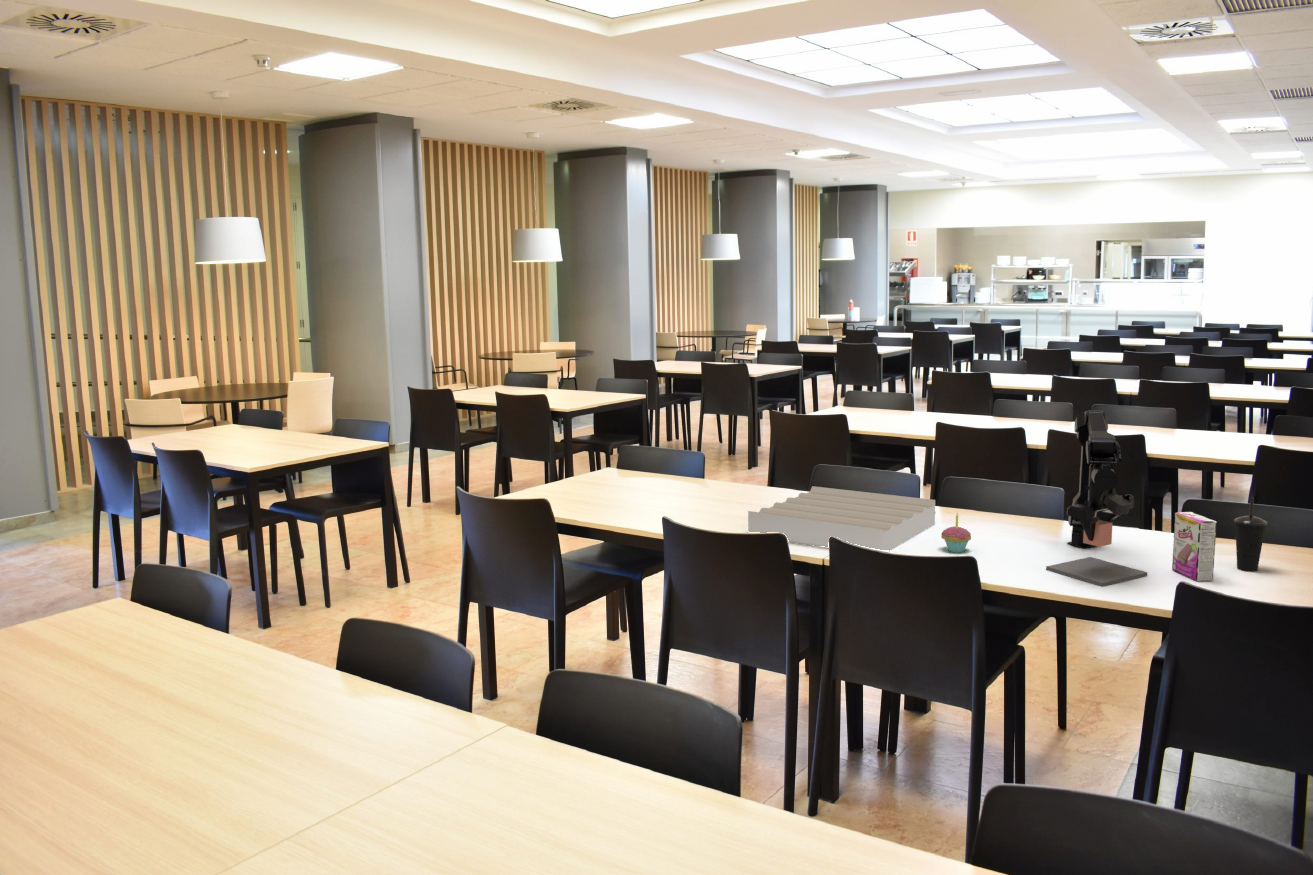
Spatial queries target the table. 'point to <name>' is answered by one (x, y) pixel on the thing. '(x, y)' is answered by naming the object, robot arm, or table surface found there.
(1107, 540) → the red block
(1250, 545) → the drinking cup
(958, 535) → the cupcake
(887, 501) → the tray
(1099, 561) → the mat
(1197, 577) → the candy bar box
